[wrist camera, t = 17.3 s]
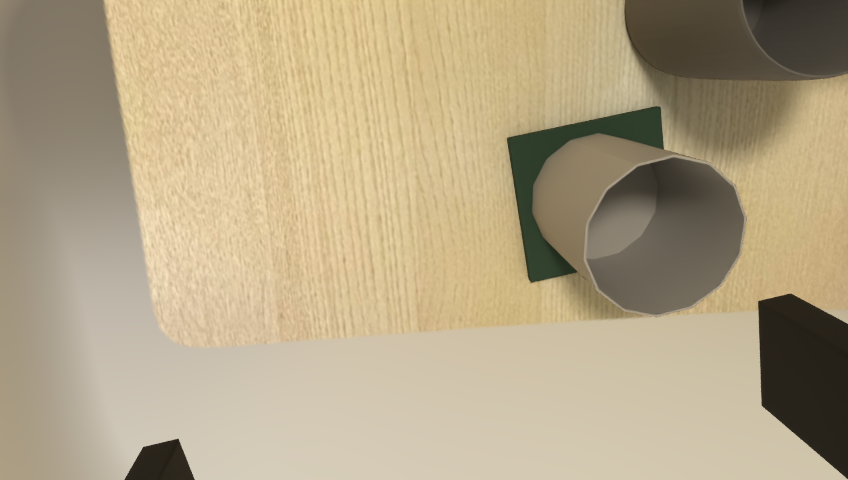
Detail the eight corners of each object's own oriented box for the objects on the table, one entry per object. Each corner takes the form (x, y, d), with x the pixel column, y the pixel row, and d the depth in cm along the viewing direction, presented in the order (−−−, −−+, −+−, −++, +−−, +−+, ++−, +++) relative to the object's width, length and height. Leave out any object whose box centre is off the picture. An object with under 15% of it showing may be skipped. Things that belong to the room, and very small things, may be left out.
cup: (647, 255, 40) (732, 314, 31) (529, 260, 40) (579, 320, 30) (660, 132, 38) (756, 152, 28) (535, 134, 37) (590, 156, 28)
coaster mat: (528, 279, 41) (530, 282, 40) (506, 137, 38) (508, 138, 37) (667, 249, 41) (671, 252, 40) (656, 106, 38) (660, 106, 37)
